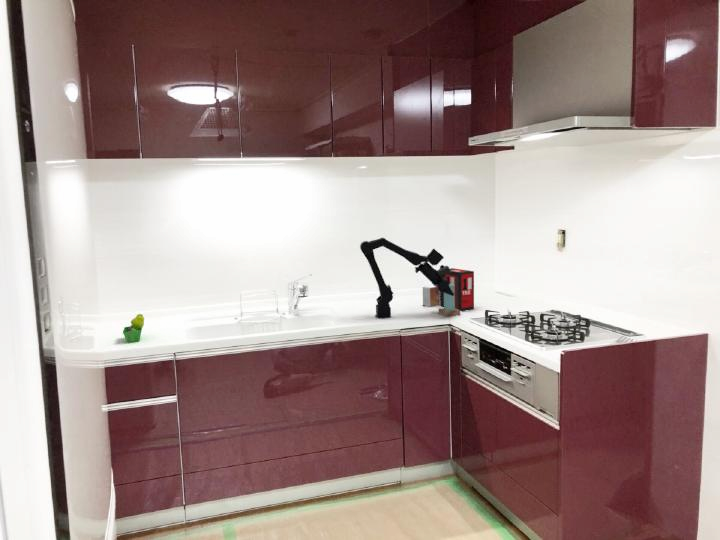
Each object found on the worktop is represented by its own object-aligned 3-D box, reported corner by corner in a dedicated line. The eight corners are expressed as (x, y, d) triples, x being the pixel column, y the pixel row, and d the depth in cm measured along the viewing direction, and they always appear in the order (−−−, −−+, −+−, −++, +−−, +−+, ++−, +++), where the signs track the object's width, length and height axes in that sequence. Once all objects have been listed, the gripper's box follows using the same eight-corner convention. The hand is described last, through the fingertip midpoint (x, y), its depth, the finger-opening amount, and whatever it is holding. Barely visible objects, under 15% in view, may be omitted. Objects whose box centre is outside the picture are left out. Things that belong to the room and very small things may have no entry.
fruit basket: (125, 337, 264) (123, 313, 262) (146, 335, 267) (144, 311, 265) (123, 343, 253) (121, 318, 252) (145, 341, 256) (143, 316, 254)
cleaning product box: (440, 306, 314) (439, 269, 312) (452, 304, 319) (452, 268, 316) (460, 311, 300) (460, 272, 298) (473, 309, 305) (473, 271, 302)
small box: (430, 307, 313) (429, 287, 312) (422, 305, 318) (422, 286, 316) (440, 305, 318) (440, 286, 317) (432, 303, 323) (432, 285, 321)
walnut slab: (445, 316, 289) (445, 311, 289) (438, 313, 296) (438, 308, 296) (460, 315, 291) (460, 310, 291) (452, 312, 299) (452, 307, 299)
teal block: (445, 310, 291) (445, 285, 290) (443, 308, 296) (443, 284, 294) (454, 310, 291) (454, 285, 290) (452, 308, 296) (452, 284, 294)
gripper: (444, 262, 281) (467, 284, 283) (437, 258, 299) (459, 279, 301) (428, 279, 282) (451, 301, 284) (422, 274, 300) (444, 294, 302)
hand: (451, 293), depth 293 cm, fingers open, 9 cm apart
